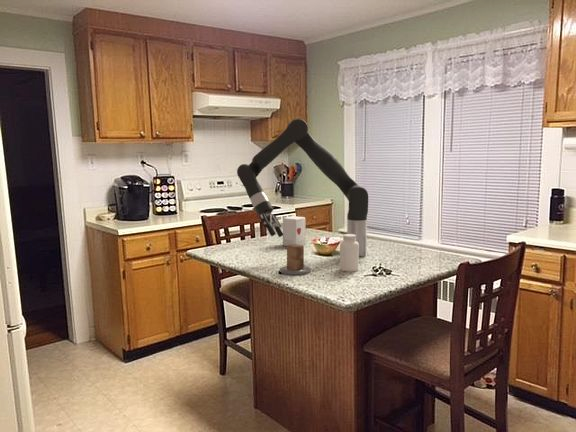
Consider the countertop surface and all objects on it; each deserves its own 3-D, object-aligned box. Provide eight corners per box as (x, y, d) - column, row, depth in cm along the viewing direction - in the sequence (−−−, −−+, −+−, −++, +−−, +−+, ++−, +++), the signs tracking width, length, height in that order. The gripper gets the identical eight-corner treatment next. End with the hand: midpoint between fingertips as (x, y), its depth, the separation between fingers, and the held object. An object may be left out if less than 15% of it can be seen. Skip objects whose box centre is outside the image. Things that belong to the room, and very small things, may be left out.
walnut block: (295, 266, 205) (295, 243, 204) (303, 268, 201) (303, 245, 200) (286, 268, 202) (286, 245, 200) (295, 271, 198) (295, 247, 197)
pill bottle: (353, 273, 198) (354, 237, 196) (336, 270, 202) (336, 235, 200) (361, 268, 205) (362, 234, 203) (344, 266, 209) (344, 232, 207)
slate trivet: (312, 268, 206) (312, 265, 206) (307, 276, 194) (307, 273, 194) (283, 266, 209) (283, 264, 209) (276, 274, 197) (276, 272, 196)
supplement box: (295, 247, 248) (295, 219, 246) (282, 245, 253) (282, 217, 251) (306, 244, 255) (306, 217, 253) (292, 242, 260) (292, 215, 258)
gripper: (261, 198, 207) (278, 230, 203) (274, 201, 220) (290, 232, 216) (247, 207, 209) (264, 239, 205) (261, 210, 222) (277, 240, 218)
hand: (277, 235), depth 210 cm, fingers open, 8 cm apart
